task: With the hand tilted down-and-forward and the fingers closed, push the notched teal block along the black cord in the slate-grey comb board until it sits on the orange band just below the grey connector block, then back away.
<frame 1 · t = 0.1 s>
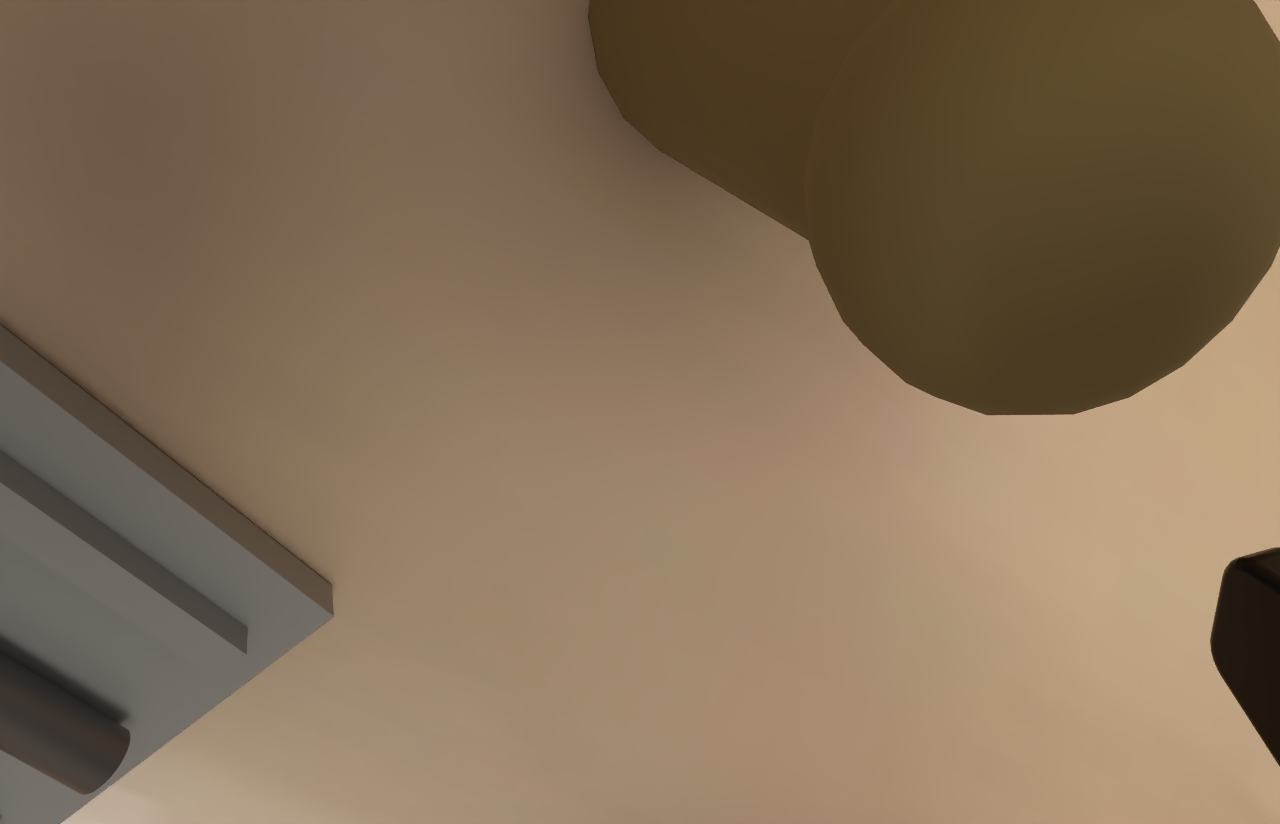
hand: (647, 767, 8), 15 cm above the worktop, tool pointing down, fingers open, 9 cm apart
cork: (753, 2, 21), on the worktop
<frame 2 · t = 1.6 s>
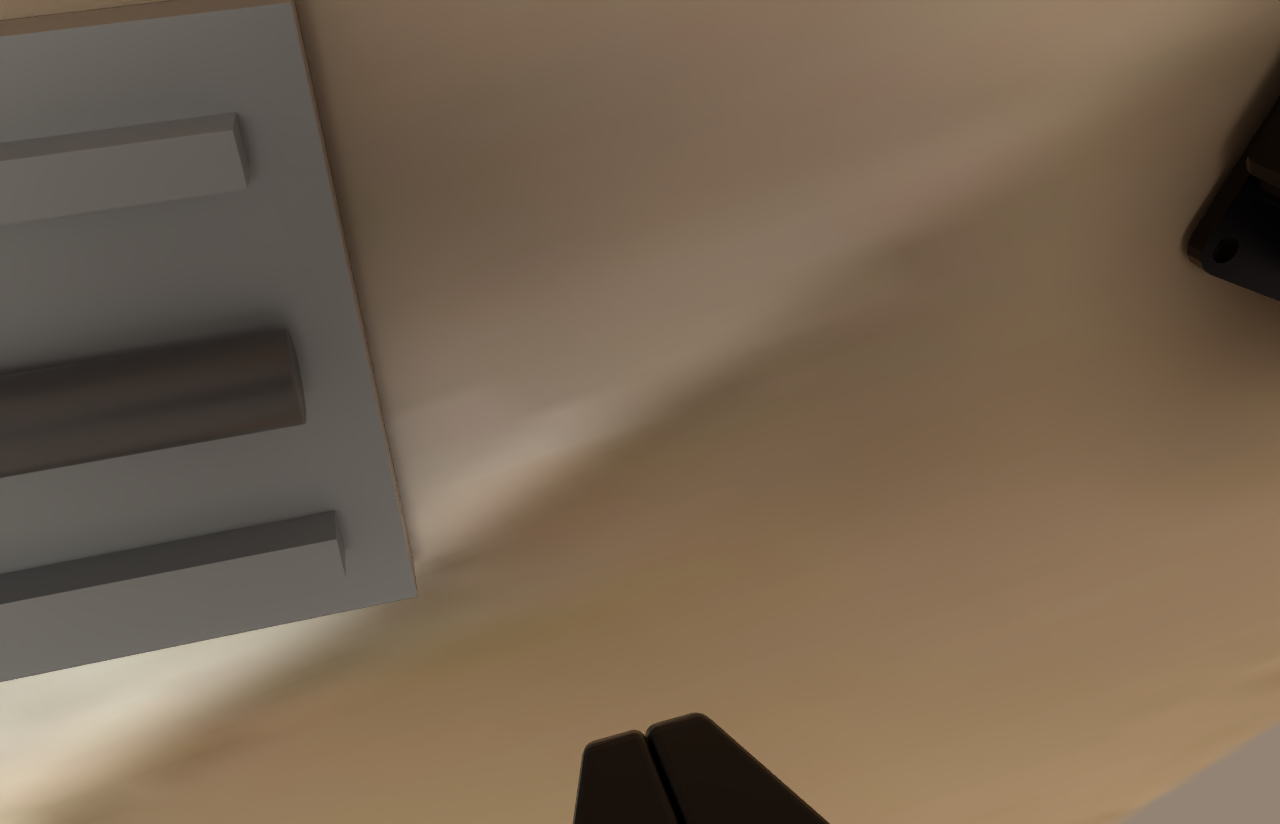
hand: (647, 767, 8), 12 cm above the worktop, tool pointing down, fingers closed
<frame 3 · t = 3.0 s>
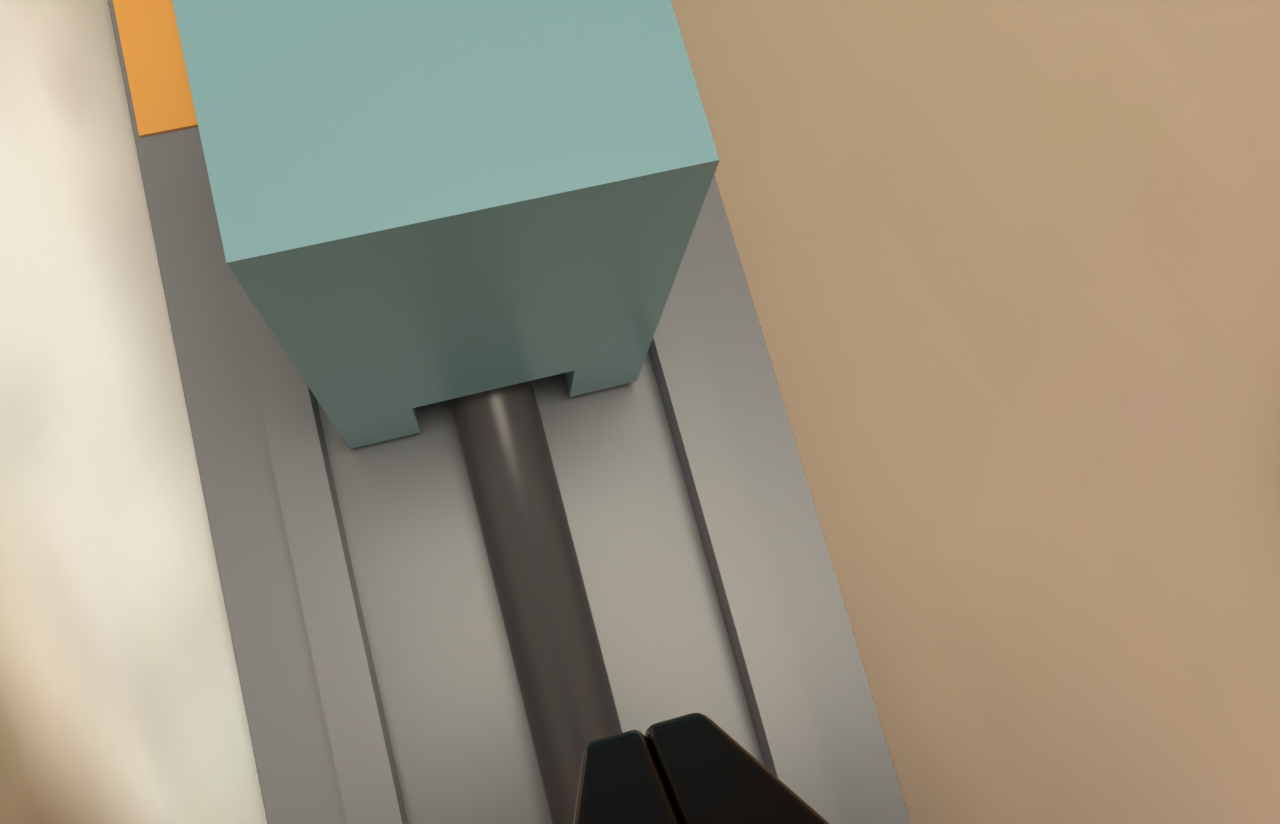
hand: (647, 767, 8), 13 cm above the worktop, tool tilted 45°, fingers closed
notched teal block: (440, 140, 17), point 6 cm above the worktop, slide at 0.0 cm
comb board: (459, 279, 22), on the worktop
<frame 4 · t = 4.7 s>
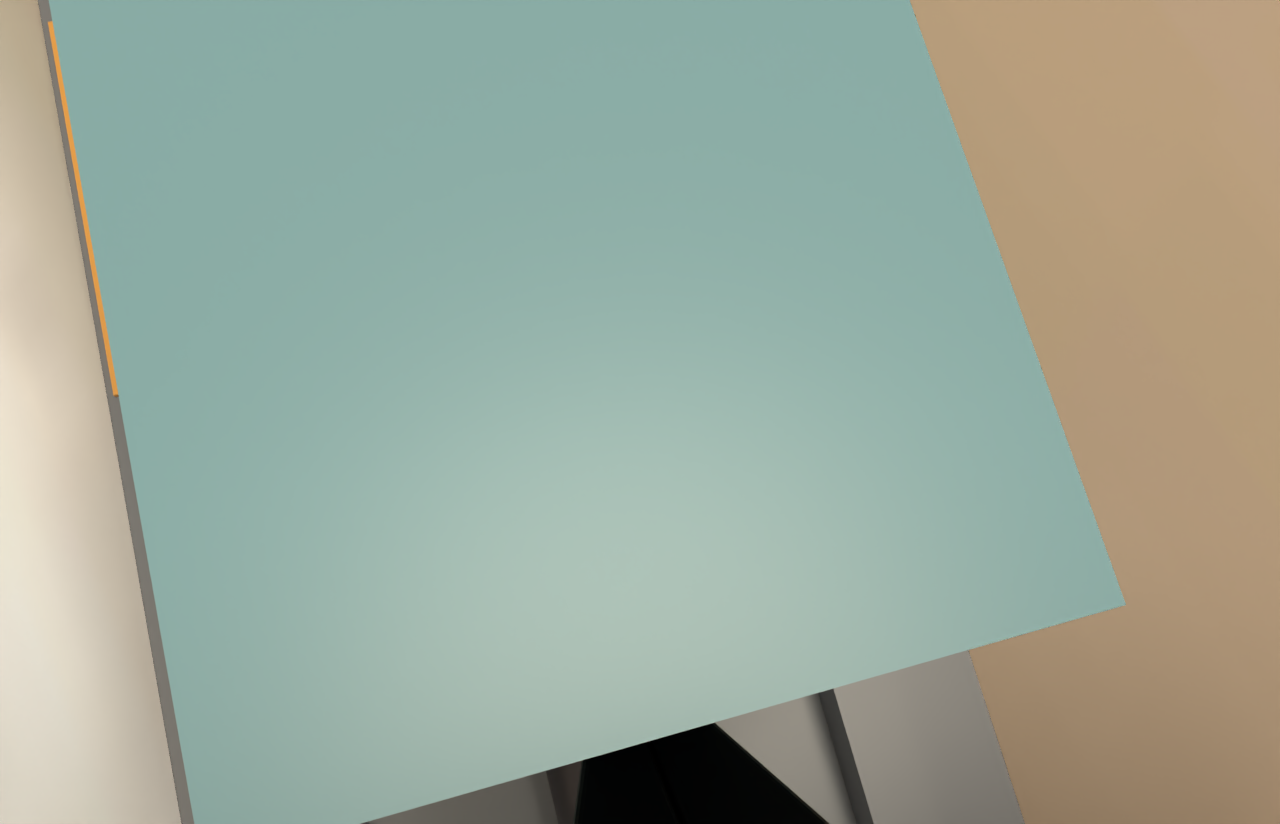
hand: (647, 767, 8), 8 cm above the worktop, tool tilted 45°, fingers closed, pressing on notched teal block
notched teal block: (539, 400, 11), point 6 cm above the worktop, slide at 1.0 cm, touching gripper
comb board: (550, 573, 16), on the worktop
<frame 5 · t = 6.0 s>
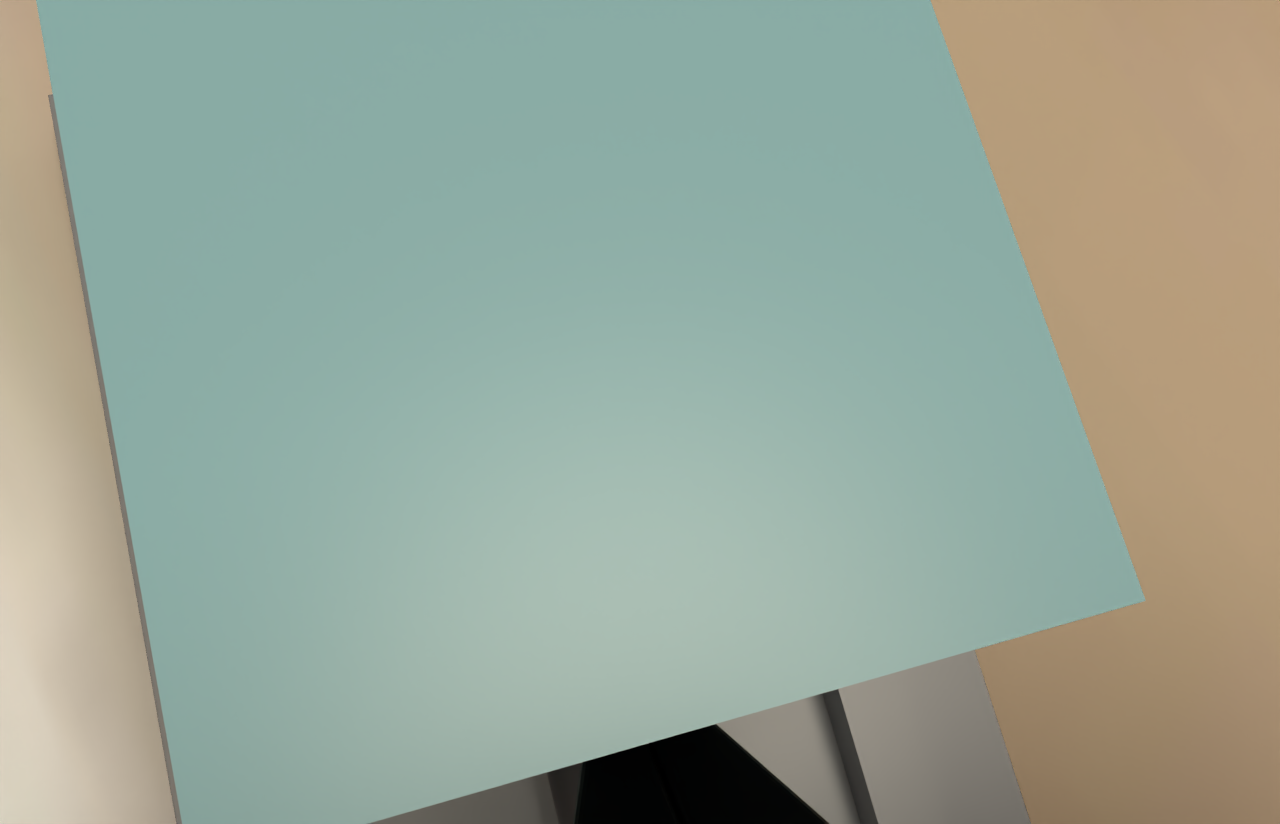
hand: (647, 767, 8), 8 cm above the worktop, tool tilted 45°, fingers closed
notched teal block: (539, 390, 11), point 6 cm above the worktop, slide at 6.3 cm
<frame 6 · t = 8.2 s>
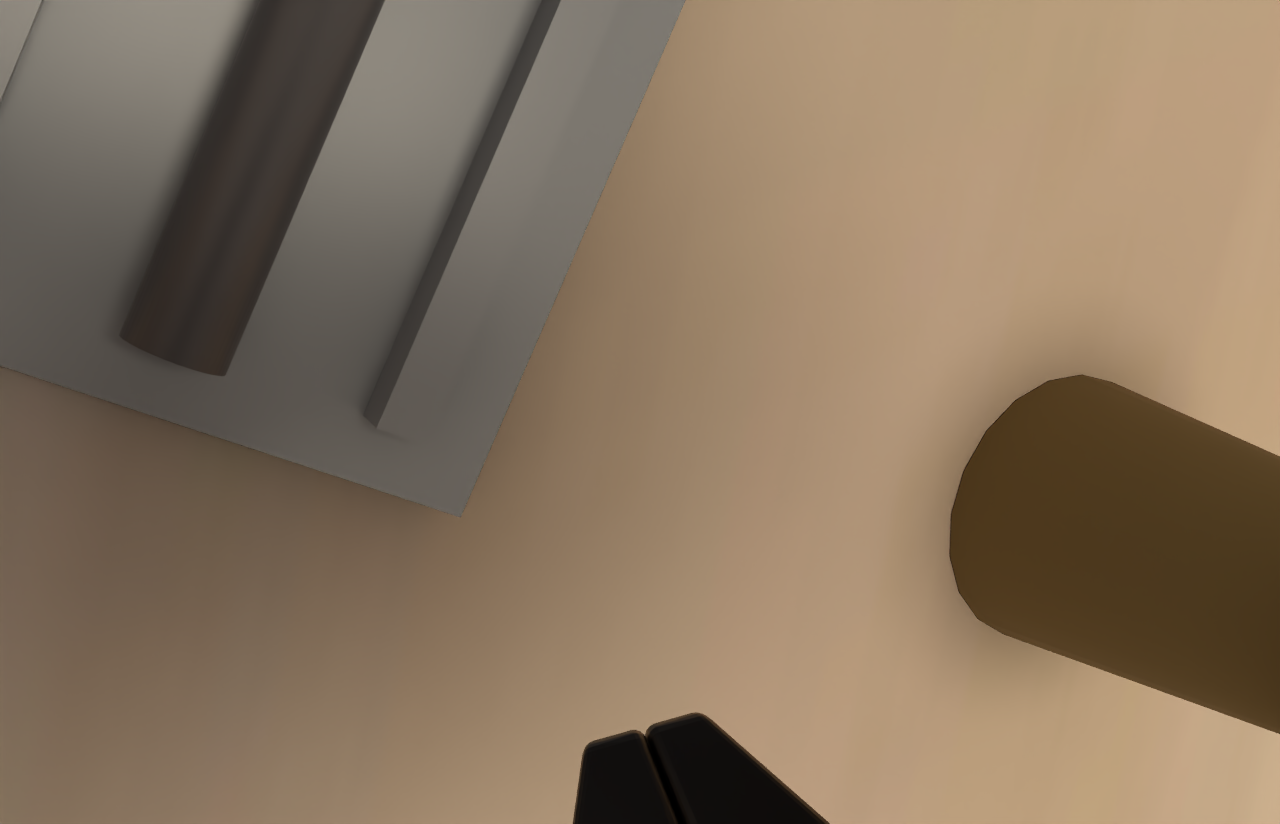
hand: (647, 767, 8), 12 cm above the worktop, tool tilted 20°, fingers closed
cork: (1050, 506, 26), on the worktop
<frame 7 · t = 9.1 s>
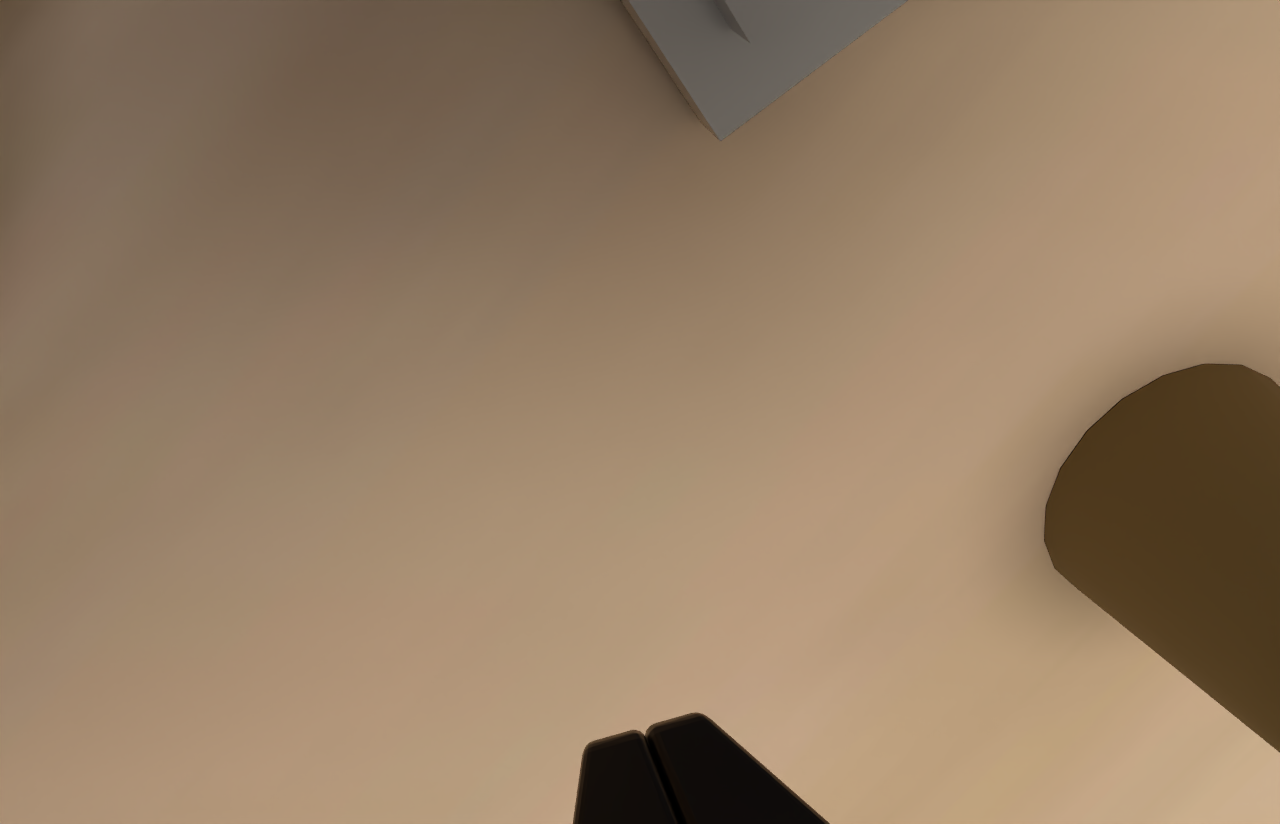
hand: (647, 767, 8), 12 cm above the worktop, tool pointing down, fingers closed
cork: (1164, 481, 26), on the worktop
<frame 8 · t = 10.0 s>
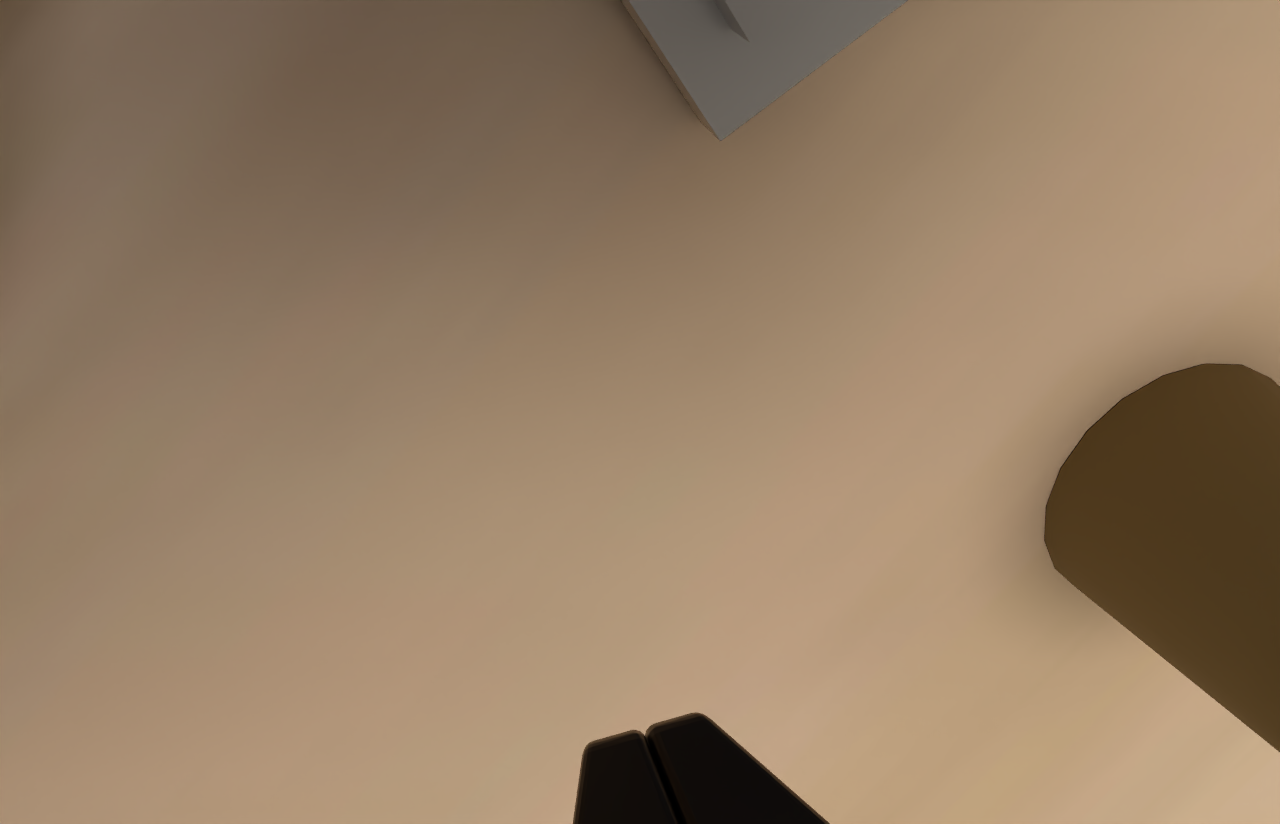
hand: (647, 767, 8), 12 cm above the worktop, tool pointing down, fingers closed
cork: (1164, 481, 26), on the worktop
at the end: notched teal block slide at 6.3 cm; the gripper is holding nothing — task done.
